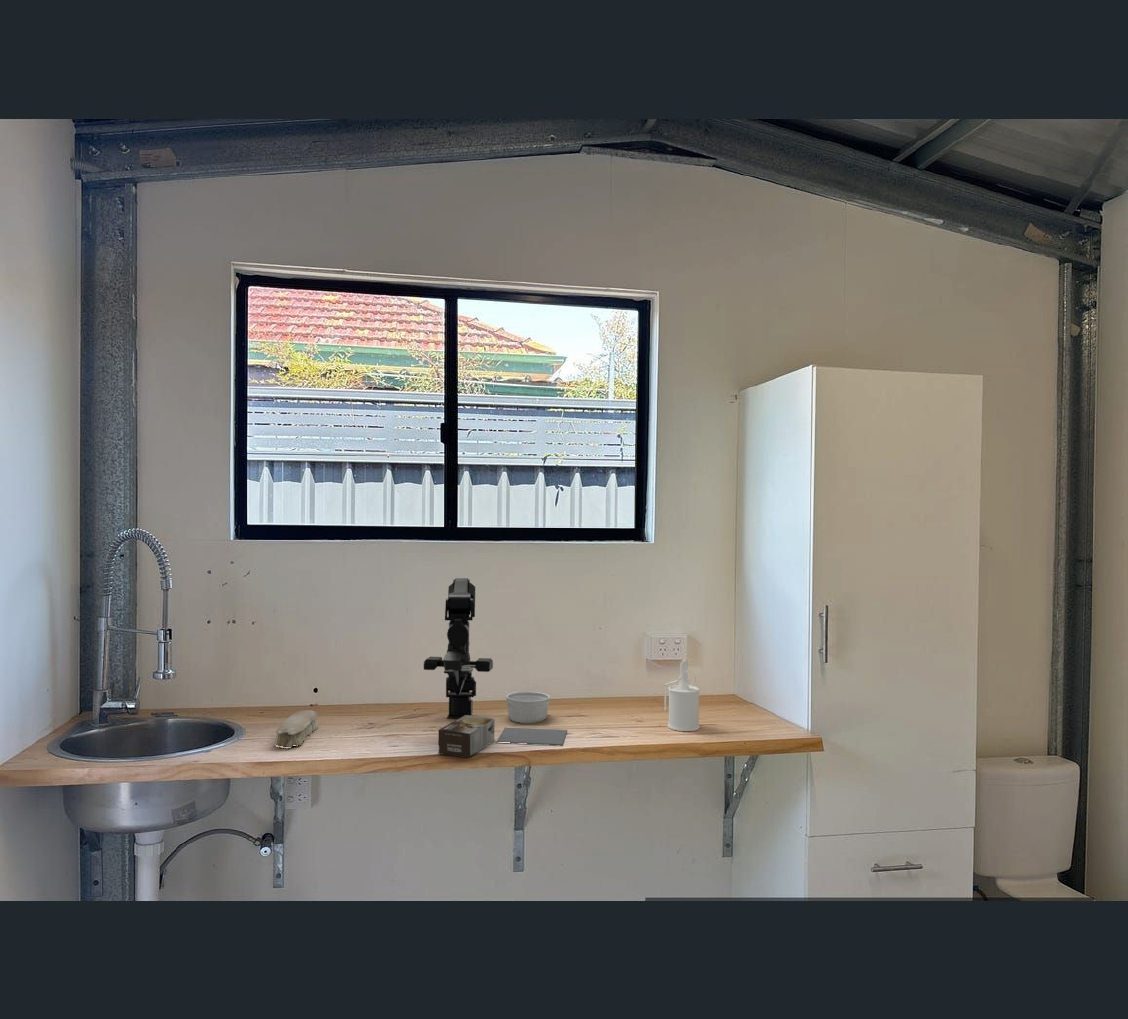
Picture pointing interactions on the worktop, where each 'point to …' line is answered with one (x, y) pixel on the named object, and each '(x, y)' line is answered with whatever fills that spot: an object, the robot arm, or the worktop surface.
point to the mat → (532, 736)
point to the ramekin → (527, 706)
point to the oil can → (683, 702)
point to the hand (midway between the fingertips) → (458, 694)
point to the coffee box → (466, 736)
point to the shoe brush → (296, 728)
